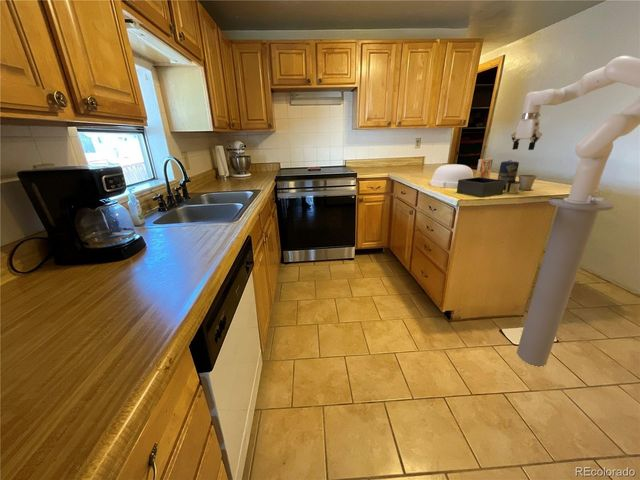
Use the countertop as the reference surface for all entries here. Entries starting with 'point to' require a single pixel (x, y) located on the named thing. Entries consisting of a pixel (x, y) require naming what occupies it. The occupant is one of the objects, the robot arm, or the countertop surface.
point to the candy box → (484, 168)
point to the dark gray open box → (480, 186)
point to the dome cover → (450, 175)
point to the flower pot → (526, 181)
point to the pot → (512, 187)
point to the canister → (508, 171)
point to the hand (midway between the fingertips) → (522, 149)
